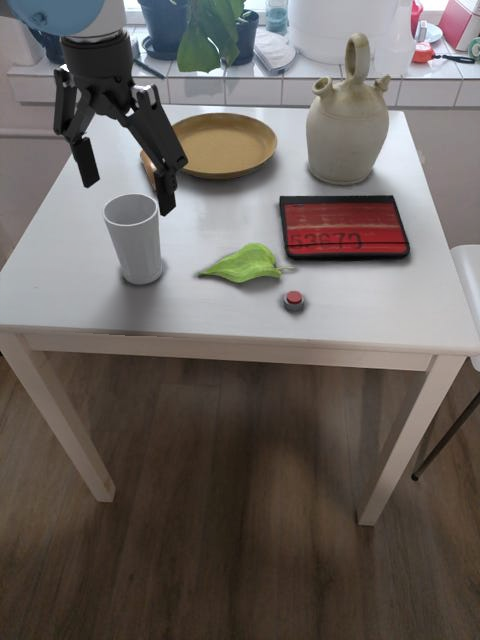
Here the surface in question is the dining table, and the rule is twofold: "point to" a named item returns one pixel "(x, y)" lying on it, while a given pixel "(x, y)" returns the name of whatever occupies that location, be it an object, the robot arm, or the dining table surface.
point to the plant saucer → (224, 144)
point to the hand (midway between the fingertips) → (129, 196)
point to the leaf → (247, 264)
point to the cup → (135, 235)
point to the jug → (347, 120)
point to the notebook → (342, 228)
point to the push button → (293, 300)
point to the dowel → (148, 167)
